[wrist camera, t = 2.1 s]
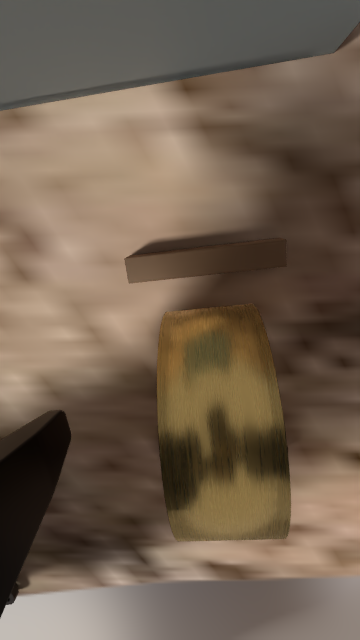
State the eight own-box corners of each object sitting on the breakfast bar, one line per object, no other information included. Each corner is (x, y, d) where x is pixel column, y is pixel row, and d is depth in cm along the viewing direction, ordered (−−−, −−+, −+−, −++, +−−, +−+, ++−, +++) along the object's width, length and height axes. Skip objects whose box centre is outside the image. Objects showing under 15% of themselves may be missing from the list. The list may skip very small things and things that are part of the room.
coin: (249, 424, 12) (290, 603, 7) (191, 427, 13) (184, 603, 7) (241, 281, 10) (291, 368, 5) (172, 288, 11) (142, 379, 5)
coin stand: (282, 449, 13) (287, 464, 12) (164, 455, 13) (162, 470, 12) (279, 237, 10) (286, 239, 9) (129, 255, 10) (124, 258, 10)
